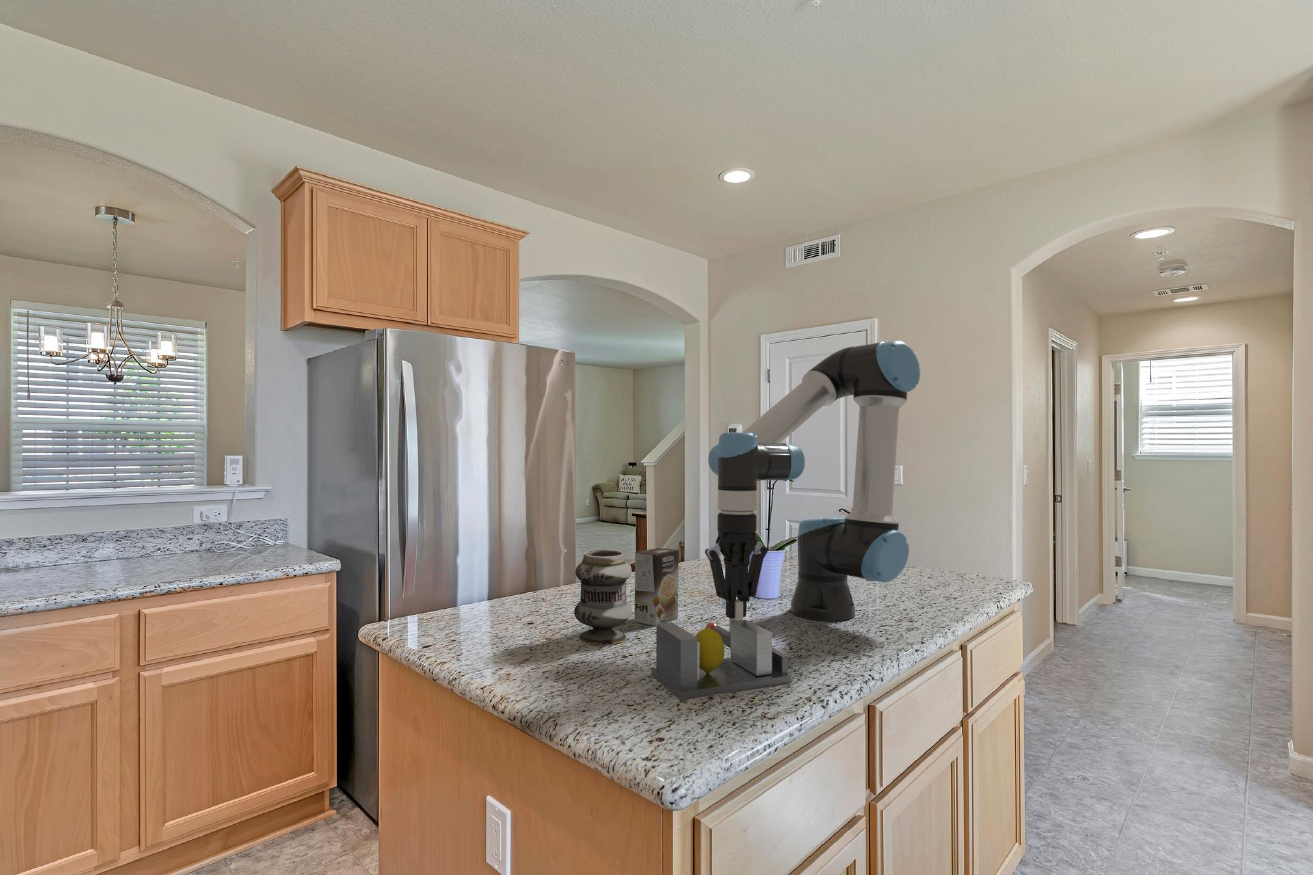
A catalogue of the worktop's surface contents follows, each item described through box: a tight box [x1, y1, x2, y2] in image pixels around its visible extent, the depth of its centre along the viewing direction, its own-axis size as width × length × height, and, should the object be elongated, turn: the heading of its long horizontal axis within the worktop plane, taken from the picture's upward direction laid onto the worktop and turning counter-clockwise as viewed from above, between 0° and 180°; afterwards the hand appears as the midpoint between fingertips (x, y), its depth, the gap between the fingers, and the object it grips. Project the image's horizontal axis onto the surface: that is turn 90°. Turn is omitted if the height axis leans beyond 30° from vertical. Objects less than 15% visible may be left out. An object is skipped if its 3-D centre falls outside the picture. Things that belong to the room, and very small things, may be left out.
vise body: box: [650, 621, 792, 701], centre depth 112 cm, size 21×12×9 cm, turn 113°
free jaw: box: [704, 619, 773, 676], centre depth 119 cm, size 3×20×7 cm, turn 23°
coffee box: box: [633, 547, 680, 627], centre depth 150 cm, size 9×6×16 cm
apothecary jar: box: [573, 548, 633, 646], centre depth 135 cm, size 12×12×18 cm
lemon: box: [694, 626, 725, 674], centre depth 111 cm, size 6×6×8 cm
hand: (735, 634), depth 124 cm, fingers closed
